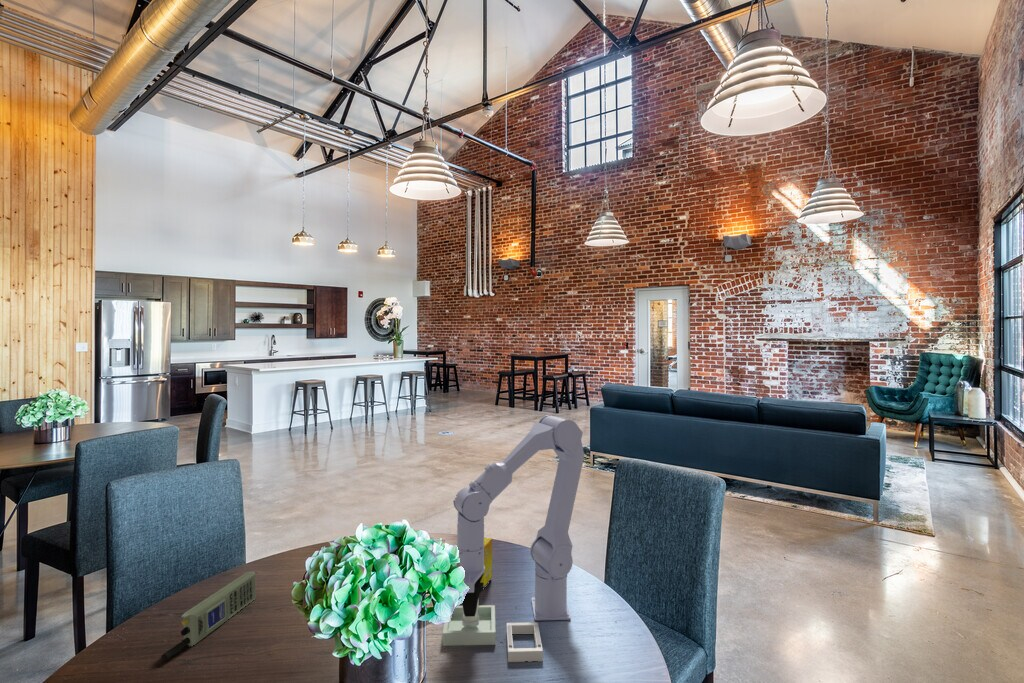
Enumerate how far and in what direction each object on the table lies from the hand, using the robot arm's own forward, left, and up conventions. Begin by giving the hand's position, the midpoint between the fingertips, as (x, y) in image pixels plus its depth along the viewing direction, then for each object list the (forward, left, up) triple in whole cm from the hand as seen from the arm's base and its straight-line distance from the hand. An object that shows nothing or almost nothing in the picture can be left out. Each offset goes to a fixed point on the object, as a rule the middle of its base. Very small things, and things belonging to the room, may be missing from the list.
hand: (470, 610), depth 108 cm
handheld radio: (-3, -55, -5) cm, 55 cm away
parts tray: (0, 0, -4) cm, 4 cm away
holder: (+6, +11, -4) cm, 13 cm away
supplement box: (-21, +1, -4) cm, 22 cm away
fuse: (0, 0, -3) cm, 3 cm away
